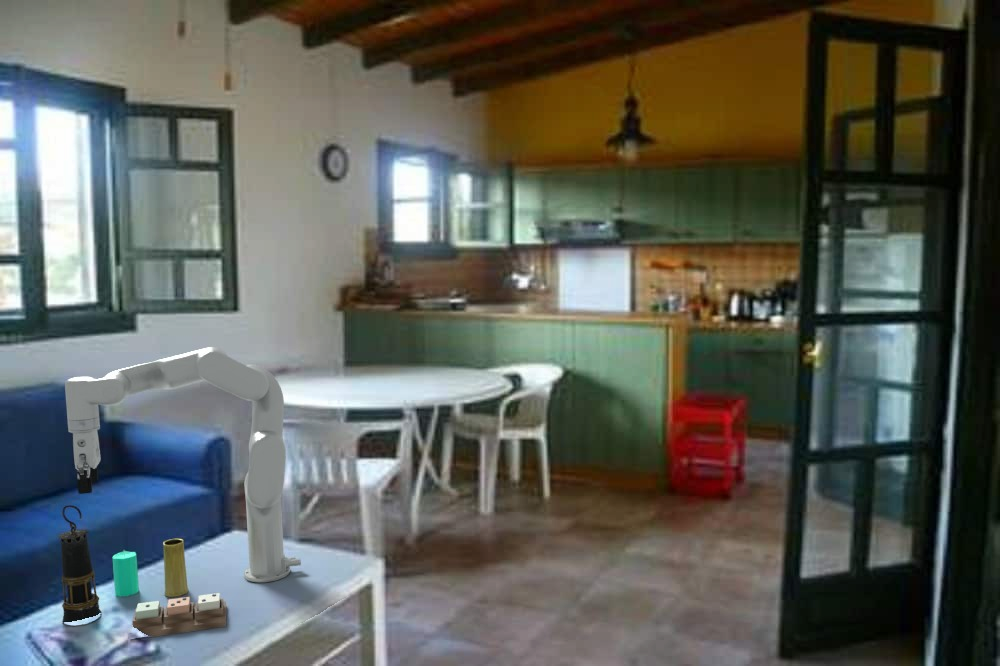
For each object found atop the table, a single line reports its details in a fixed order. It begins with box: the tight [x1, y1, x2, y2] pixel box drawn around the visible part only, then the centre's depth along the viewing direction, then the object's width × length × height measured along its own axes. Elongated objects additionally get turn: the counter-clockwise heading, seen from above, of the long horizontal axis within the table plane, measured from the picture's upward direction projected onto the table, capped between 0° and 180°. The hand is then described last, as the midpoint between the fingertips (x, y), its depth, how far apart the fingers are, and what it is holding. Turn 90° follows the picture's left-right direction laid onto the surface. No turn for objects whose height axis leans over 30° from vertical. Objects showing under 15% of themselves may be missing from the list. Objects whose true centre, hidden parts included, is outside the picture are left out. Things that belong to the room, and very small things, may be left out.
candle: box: [111, 550, 140, 598], centre depth 239 cm, size 6×6×12 cm
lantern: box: [57, 504, 102, 623], centre depth 222 cm, size 9×9×30 cm
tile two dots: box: [197, 592, 221, 611], centre depth 222 cm, size 5×5×3 cm
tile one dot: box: [135, 600, 161, 620], centre depth 218 cm, size 5×5×3 cm
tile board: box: [131, 597, 227, 638], centre depth 220 cm, size 22×12×4 cm, turn 107°
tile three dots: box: [166, 596, 191, 615], centre depth 220 cm, size 5×5×3 cm
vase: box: [162, 538, 189, 598], centre depth 238 cm, size 6×6×14 cm
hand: (88, 487), depth 233 cm, fingers open, 9 cm apart
